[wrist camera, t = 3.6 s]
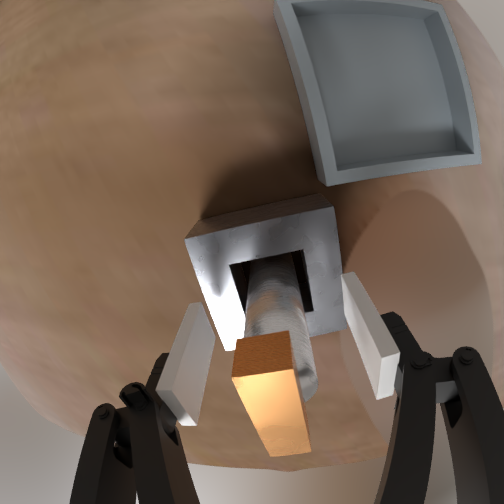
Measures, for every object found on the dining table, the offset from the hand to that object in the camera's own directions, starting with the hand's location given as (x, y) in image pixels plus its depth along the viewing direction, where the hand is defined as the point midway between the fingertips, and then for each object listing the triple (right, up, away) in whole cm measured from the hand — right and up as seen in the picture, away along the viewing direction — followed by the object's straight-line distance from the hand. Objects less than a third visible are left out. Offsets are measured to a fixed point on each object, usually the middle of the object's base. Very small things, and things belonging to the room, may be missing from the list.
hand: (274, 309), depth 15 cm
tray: (+8, +15, 0) cm, 17 cm away
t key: (0, +2, +6) cm, 6 cm away
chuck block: (0, +2, +6) cm, 6 cm away
